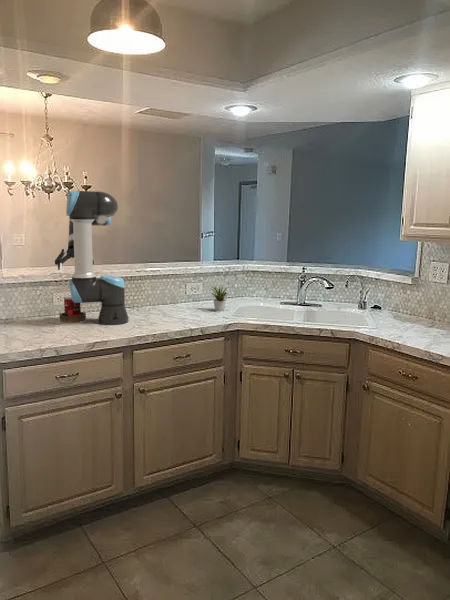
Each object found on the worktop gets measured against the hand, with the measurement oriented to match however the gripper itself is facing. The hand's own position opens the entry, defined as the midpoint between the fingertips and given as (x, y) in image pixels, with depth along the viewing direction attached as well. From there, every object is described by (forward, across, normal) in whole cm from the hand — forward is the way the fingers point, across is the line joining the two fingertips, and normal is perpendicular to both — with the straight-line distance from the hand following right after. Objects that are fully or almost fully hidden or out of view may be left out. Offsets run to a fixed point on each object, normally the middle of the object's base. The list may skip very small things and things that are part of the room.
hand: (74, 274), depth 267 cm
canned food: (+24, 0, -6) cm, 25 cm away
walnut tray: (+25, 0, -7) cm, 26 cm away
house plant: (+15, -78, -17) cm, 81 cm away
